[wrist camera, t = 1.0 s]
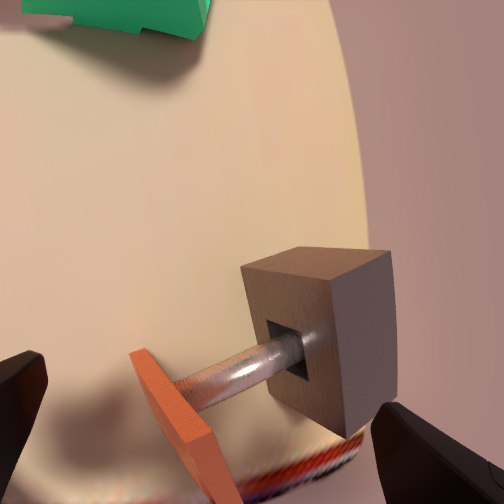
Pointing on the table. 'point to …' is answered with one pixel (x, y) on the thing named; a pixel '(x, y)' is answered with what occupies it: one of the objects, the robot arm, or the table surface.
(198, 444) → the lock pin
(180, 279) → the table surface
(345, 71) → the table surface
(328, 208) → the table surface
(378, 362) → the block
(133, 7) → the camera mount
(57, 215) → the table surface
